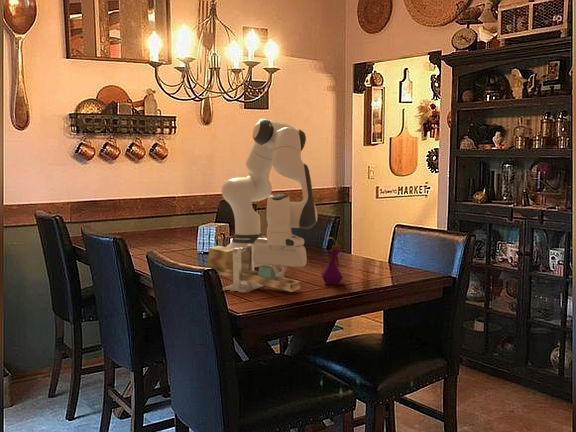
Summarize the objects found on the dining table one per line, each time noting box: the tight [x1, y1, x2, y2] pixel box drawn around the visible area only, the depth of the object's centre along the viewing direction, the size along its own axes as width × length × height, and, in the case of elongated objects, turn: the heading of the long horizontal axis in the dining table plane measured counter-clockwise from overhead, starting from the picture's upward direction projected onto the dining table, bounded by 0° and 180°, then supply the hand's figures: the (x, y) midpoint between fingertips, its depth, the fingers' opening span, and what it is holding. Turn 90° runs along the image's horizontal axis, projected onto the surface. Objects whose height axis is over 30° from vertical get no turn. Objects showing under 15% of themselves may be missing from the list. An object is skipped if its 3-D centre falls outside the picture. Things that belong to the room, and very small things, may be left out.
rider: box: [258, 264, 276, 280], centre depth 239 cm, size 5×4×5 cm
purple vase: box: [320, 236, 343, 287], centre depth 248 cm, size 8×8×18 cm
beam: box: [207, 245, 301, 293], centre depth 242 cm, size 36×6×10 cm, turn 62°
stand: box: [222, 245, 266, 294], centre depth 244 cm, size 10×14×15 cm
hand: (279, 277), depth 237 cm, fingers closed
